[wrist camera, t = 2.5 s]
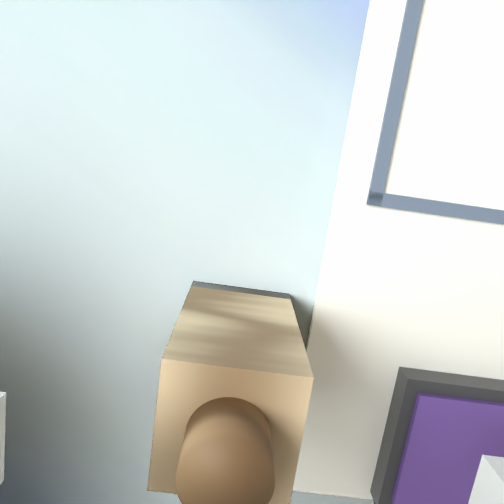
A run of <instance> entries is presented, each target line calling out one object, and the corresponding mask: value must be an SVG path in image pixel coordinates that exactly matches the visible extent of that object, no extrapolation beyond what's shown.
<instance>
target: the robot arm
mask: <svg viewBox="0 0 504 504" xmlns="http://www.w3.org/2000/svg"><path fill="white" fill-rule="evenodd" d="M5 422H6V392H0V485H1V483H2V482H3V481H4V457H5ZM468 504H504V457H497V456H489V455H482V457H481V461H480V464H479V468H478V471H477V475H476V478H475V482H474V485H473V488H472V492H471V495H470V499H469V502H468Z"/></svg>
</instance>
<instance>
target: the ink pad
mask: <svg viewBox="0 0 504 504" xmlns="http://www.w3.org/2000/svg"><path fill="white" fill-rule="evenodd" d="M482 455H489V456H497V457H504V380H500V379H492V378H484V377H477V376H469V375H461V374H453V373H446V372H438V371H430V370H422V369H415V368H407V367H399V369H398V374H397V378H396V382H395V386H394V391H393V395H392V399H391V404H390V408H389V412H388V417H387V421H386V425H385V429H384V434H383V438H382V442H381V447H380V451H379V455H378V459H377V464H376V468H375V472H374V477H373V481H372V485H371V489H370V493H371V495H372V498H373V501H374V504H468V502H469V499H470V495H471V492H472V488H473V485H474V482H475V478H476V475H477V471H478V468H479V464H480V461H481V457H482Z"/></svg>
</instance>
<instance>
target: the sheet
mask: <svg viewBox="0 0 504 504" xmlns="http://www.w3.org/2000/svg"><path fill="white" fill-rule="evenodd" d="M306 353H307V356H308V360H309V363H310V366H311V370H312V373H313V377H314V380H313V385H312V391H311V396H310V401H309V406H308V412H307V417H306V422H305V427H304V433H303V438H302V443H301V448H300V454H299V459H298V464H297V469H296V475H295V480H294V485H293V490H292V491H298V492H306V493H315V494H323V495H332V496H341V497H349V498H358V499H367V500H373V498H372V495H371V493H370V489H371V485H372V481H373V477H374V472H375V468H376V464H377V459H378V455H379V451H380V447H381V442H382V438H383V434H384V429H385V425H386V421H387V417H388V412H389V408H390V404H391V399H392V395H393V391H394V386H395V382H396V378H397V374H398V369H399V367H407V368H415V369H422V370H430V371H438V372H446V373H453V374H461V375H469V376H477V377H484V378H492V379H500V380H504V0H370V3H369V9H368V14H367V20H366V25H365V31H364V36H363V41H362V47H361V52H360V58H359V63H358V69H357V74H356V80H355V85H354V91H353V96H352V101H351V107H350V112H349V118H348V123H347V129H346V134H345V140H344V145H343V151H342V156H341V162H340V167H339V172H338V178H337V183H336V189H335V194H334V200H333V205H332V211H331V216H330V222H329V227H328V233H327V238H326V243H325V249H324V254H323V260H322V265H321V271H320V276H319V282H318V287H317V293H316V298H315V304H314V309H313V314H312V320H311V325H310V331H309V336H308V342H307V347H306Z"/></svg>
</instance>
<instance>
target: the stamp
mask: <svg viewBox="0 0 504 504" xmlns="http://www.w3.org/2000/svg"><path fill="white" fill-rule="evenodd" d="M313 380H314V377H313V373H312V370H311V366H310V363H309V360H308V356H307V353H306V349H305V346H304V343H303V339H302V336H301V333H300V329H299V326H298V322H297V319H296V316H295V312H294V309H293V305H292V302H291V299H290V295H289V294H286V293H279V292H271V291H264V290H257V289H249V288H242V287H234V286H227V285H220V284H212V283H205V282H197V281H193V283H192V285H191V288H190V290H189V292H188V295H187V297H186V300H185V302H184V305H183V307H182V310H181V312H180V315H179V317H178V319H177V322H176V324H175V327H174V329H173V332H172V334H171V337H170V339H169V342H168V344H167V347H166V349H165V351H164V354H163V356H162V360H161V369H160V378H159V387H158V396H157V405H156V415H155V424H154V433H153V442H152V451H151V460H150V470H149V479H148V488H147V491H156V492H165V493H173V494H177V495H178V497H179V499H180V501H181V503H182V504H290V501H291V496H292V490H293V485H294V480H295V475H296V469H297V464H298V459H299V454H300V448H301V443H302V438H303V433H304V427H305V422H306V417H307V412H308V406H309V401H310V396H311V391H312V385H313Z"/></svg>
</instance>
